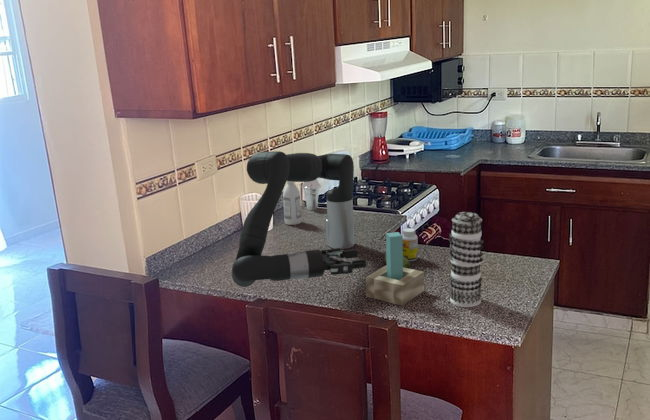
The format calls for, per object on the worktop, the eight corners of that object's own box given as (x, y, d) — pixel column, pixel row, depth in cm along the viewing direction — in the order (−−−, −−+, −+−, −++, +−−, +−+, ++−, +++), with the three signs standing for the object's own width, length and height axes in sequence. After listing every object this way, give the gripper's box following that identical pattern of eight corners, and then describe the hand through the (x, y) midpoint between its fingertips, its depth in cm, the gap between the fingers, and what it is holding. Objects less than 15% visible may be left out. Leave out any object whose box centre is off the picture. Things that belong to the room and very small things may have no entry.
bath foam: (300, 219, 255) (297, 172, 250) (302, 224, 249) (299, 176, 243) (283, 221, 254) (280, 174, 249) (285, 226, 248) (282, 177, 242)
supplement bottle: (398, 257, 207) (397, 228, 204) (413, 255, 208) (413, 226, 205) (405, 263, 201) (404, 233, 199) (420, 260, 203) (420, 231, 200)
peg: (391, 290, 175) (390, 237, 171) (386, 285, 178) (385, 233, 174) (403, 288, 176) (402, 235, 172) (398, 284, 179) (397, 231, 175)
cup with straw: (325, 206, 274) (322, 162, 269) (316, 212, 266) (314, 166, 261) (307, 205, 277) (305, 161, 272) (298, 210, 269) (296, 165, 264)
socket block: (366, 296, 177) (365, 276, 175) (388, 282, 186) (388, 264, 184) (402, 305, 170) (402, 285, 168) (423, 291, 179) (423, 271, 177)
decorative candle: (443, 296, 174) (443, 211, 168) (473, 292, 176) (474, 208, 169) (456, 309, 166) (457, 220, 159) (488, 305, 168) (490, 216, 161)
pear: (395, 245, 202) (415, 258, 194) (393, 259, 204) (413, 272, 196) (381, 248, 199) (401, 262, 191) (380, 263, 201) (400, 276, 194)
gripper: (309, 260, 162) (368, 253, 165) (299, 243, 175) (354, 237, 178) (310, 286, 164) (369, 279, 167) (300, 268, 177) (355, 262, 180)
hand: (361, 258), depth 172 cm, fingers open, 8 cm apart
